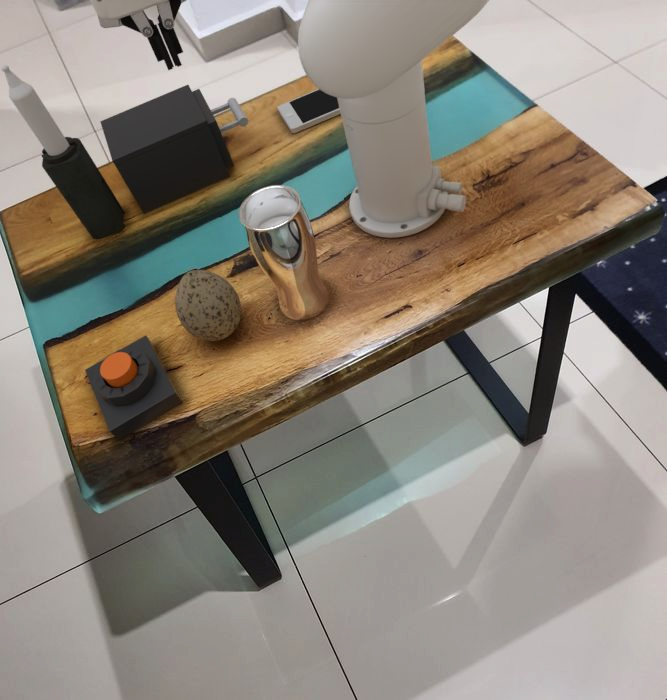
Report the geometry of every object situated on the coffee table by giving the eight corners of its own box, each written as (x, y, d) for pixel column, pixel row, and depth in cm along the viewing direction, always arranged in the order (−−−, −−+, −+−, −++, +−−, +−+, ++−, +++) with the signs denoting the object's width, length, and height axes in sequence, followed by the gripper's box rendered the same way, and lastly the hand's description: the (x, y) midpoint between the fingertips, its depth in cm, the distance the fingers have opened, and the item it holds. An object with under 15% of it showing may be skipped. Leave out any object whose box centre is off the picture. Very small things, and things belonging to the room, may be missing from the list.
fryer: (211, 139, 101) (188, 84, 93) (230, 176, 94) (206, 120, 87) (130, 174, 100) (100, 121, 92) (143, 214, 93) (112, 160, 86)
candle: (92, 218, 95) (-16, 60, 76) (124, 207, 95) (26, 47, 75) (91, 241, 92) (-21, 83, 72) (125, 230, 92) (22, 69, 72)
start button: (142, 376, 71) (135, 367, 70) (113, 393, 70) (105, 385, 69) (132, 355, 73) (125, 346, 72) (103, 371, 73) (95, 363, 71)
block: (183, 402, 72) (168, 383, 69) (119, 440, 71) (101, 423, 68) (153, 345, 78) (139, 325, 75) (93, 379, 77) (76, 361, 74)
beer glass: (309, 332, 74) (272, 240, 63) (265, 310, 78) (222, 218, 66) (344, 290, 77) (316, 194, 65) (300, 271, 80) (265, 176, 68)
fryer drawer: (243, 122, 100) (226, 76, 94) (261, 154, 94) (245, 108, 88) (142, 165, 99) (118, 122, 93) (155, 200, 93) (130, 156, 87)
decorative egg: (237, 297, 80) (208, 240, 72) (259, 334, 76) (231, 278, 68) (185, 325, 79) (150, 270, 71) (205, 364, 75) (170, 311, 67)
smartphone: (277, 110, 101) (276, 105, 101) (367, 73, 102) (366, 67, 101) (292, 134, 97) (291, 129, 96) (386, 95, 98) (385, 89, 97)
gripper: (12, -86, 55) (114, 103, 69) (177, -148, 56) (243, 53, 70) (10, -112, 59) (106, 71, 74) (163, -169, 60) (228, 24, 75)
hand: (173, 62), depth 72 cm, fingers closed
